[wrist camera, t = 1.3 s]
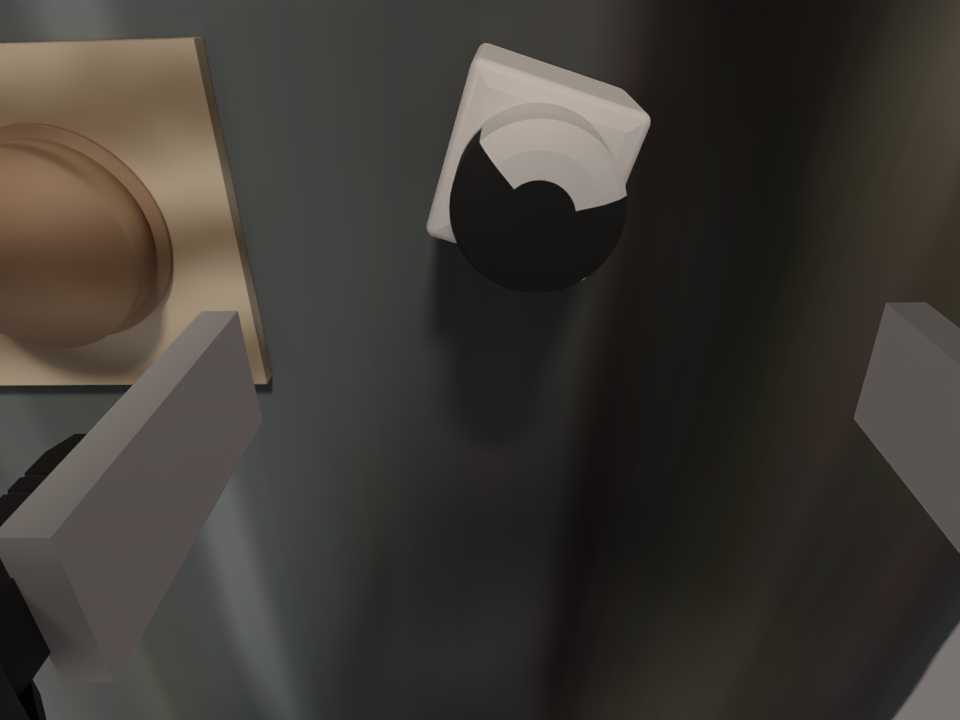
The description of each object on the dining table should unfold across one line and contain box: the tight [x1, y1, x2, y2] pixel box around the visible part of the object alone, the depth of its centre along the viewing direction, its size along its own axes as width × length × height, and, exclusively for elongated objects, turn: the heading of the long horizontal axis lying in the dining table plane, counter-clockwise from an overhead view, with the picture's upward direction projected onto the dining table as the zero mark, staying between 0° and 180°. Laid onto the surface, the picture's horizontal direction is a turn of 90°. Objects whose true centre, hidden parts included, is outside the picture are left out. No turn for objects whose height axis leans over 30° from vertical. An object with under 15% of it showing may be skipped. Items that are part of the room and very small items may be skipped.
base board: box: [0, 37, 272, 385], centre depth 34 cm, size 18×18×4 cm
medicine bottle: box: [427, 43, 651, 292], centre depth 28 cm, size 7×7×12 cm
